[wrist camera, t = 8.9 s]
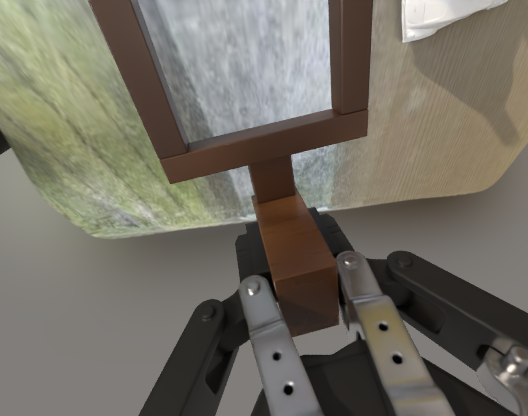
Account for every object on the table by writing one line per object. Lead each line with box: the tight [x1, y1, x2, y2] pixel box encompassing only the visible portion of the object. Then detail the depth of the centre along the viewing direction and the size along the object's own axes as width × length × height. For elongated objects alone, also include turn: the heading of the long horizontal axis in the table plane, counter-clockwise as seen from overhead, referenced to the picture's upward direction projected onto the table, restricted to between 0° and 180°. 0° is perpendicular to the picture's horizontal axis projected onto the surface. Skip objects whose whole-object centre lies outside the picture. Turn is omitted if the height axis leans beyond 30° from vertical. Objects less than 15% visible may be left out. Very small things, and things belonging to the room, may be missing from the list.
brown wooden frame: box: [88, 0, 373, 337], centre depth 10 cm, size 9×15×6 cm, turn 10°
